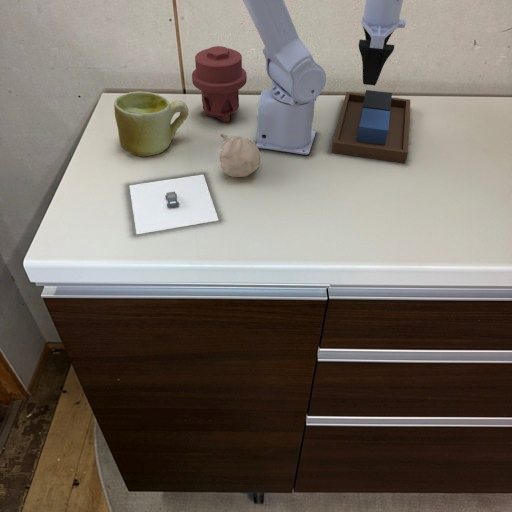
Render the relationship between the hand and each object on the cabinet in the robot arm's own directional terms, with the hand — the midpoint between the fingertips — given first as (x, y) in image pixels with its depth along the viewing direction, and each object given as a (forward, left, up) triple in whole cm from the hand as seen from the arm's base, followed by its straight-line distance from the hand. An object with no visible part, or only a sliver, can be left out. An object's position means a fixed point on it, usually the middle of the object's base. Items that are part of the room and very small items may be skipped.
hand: (370, 74), depth 83 cm
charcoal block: (+2, +3, -9) cm, 10 cm away
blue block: (+2, -5, -9) cm, 10 cm away
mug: (-35, -17, -10) cm, 40 cm away
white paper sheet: (-26, -32, -10) cm, 42 cm away
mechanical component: (-27, -4, -10) cm, 29 cm away
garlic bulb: (-18, -22, -10) cm, 30 cm away
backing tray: (+2, -2, -9) cm, 10 cm away
